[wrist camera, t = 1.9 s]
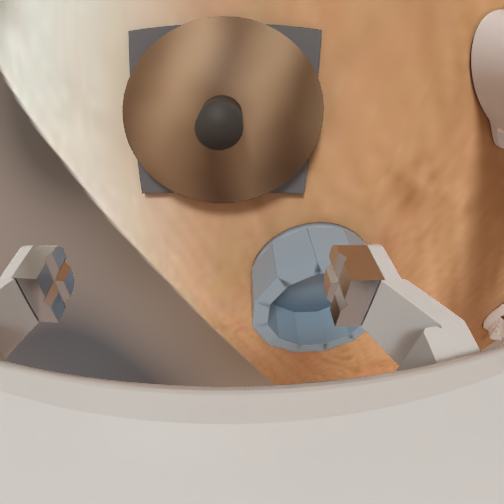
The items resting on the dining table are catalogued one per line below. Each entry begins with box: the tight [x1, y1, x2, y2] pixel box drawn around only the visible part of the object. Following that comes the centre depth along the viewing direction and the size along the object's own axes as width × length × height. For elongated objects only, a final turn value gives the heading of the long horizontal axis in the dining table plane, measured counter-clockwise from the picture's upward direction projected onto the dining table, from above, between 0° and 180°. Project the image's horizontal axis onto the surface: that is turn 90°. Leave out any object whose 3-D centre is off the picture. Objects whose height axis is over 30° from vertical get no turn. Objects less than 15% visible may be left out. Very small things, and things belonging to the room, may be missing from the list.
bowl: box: [251, 222, 367, 352], centre depth 33 cm, size 14×14×6 cm
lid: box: [123, 16, 324, 203], centre depth 21 cm, size 16×16×5 cm
